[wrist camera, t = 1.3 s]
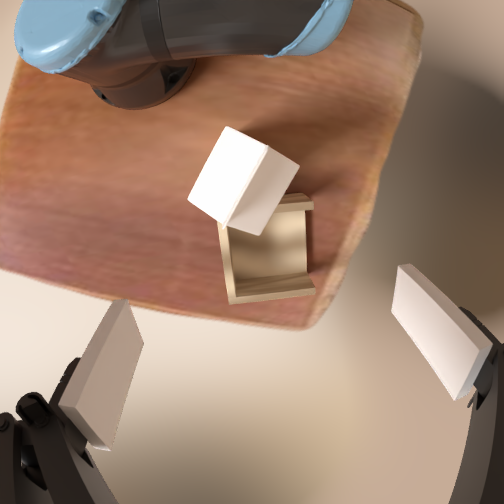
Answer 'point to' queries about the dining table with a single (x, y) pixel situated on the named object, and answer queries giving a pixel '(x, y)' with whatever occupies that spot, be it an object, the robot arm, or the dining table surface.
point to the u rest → (269, 255)
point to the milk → (242, 182)
